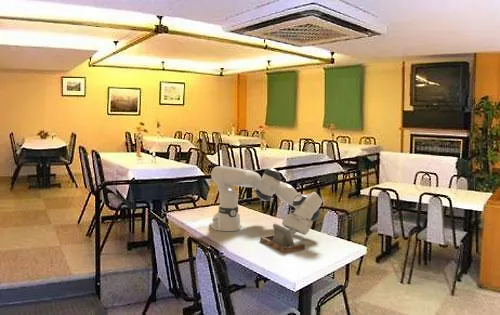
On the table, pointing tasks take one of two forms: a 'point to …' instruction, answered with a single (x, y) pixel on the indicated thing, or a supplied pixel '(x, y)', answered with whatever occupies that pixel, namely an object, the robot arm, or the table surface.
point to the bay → (283, 249)
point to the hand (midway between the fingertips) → (288, 235)
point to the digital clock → (282, 236)
